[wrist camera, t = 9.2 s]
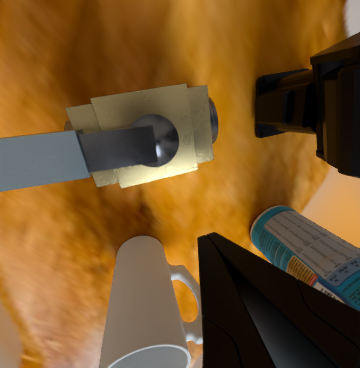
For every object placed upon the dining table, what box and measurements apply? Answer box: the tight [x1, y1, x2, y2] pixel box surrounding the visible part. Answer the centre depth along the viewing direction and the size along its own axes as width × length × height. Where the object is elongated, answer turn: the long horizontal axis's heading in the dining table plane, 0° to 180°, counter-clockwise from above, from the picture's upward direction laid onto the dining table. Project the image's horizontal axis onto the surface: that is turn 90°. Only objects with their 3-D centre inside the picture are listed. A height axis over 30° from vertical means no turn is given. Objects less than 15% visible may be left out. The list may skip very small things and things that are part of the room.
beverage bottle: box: [250, 205, 360, 311], centre depth 18 cm, size 8×8×20 cm
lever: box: [0, 114, 179, 192], centre depth 10 cm, size 3×11×2 cm, turn 96°
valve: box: [64, 83, 218, 188], centre depth 15 cm, size 12×6×6 cm, turn 100°
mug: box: [99, 236, 203, 368], centre depth 18 cm, size 10×7×12 cm, turn 81°
